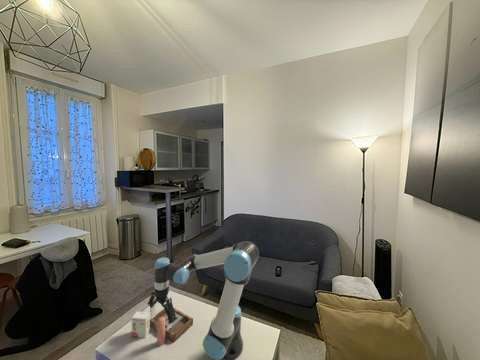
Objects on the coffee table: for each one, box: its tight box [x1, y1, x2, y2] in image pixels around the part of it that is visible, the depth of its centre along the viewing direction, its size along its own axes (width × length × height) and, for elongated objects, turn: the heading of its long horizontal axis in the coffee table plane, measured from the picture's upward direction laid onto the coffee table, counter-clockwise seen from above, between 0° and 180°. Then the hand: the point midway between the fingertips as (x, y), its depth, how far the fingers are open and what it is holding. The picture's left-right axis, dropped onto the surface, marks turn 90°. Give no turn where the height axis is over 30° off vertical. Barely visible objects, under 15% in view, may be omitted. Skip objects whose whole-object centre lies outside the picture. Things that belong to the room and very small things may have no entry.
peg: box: [156, 317, 166, 347], centre depth 111 cm, size 4×4×14 cm
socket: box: [165, 313, 183, 331], centre depth 124 cm, size 10×10×3 cm
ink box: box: [131, 311, 151, 338], centre depth 116 cm, size 9×5×12 cm, turn 88°
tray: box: [150, 307, 194, 343], centre depth 124 cm, size 22×15×4 cm
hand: (160, 322), depth 111 cm, fingers open, 13 cm apart
